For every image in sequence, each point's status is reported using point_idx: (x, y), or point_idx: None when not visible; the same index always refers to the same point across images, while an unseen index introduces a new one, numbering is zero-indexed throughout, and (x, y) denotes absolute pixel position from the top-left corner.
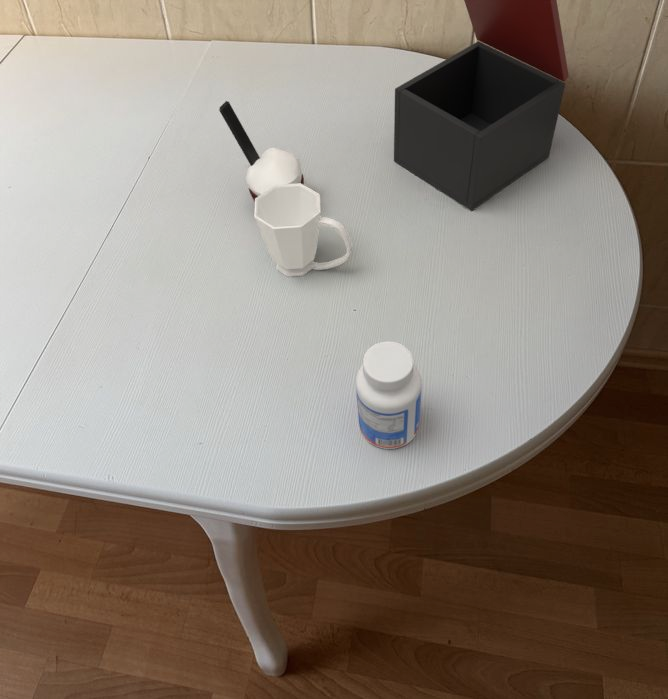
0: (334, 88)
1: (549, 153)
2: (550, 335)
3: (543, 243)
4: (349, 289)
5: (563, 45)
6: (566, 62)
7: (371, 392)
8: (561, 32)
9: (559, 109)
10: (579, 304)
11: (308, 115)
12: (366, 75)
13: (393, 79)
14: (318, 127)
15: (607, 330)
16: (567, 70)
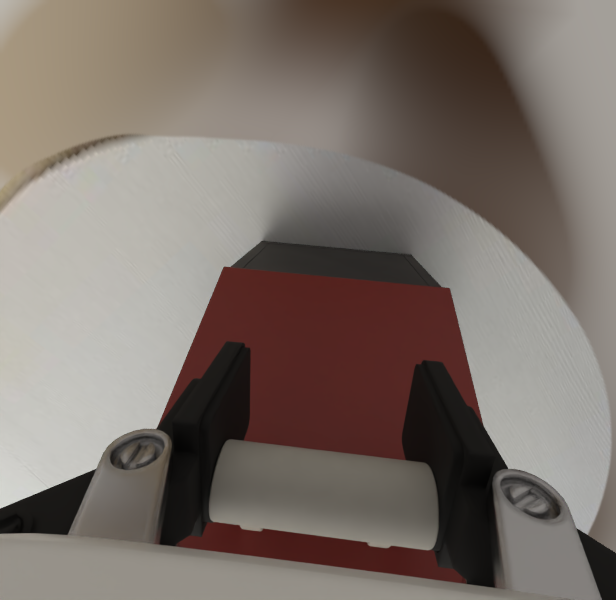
0: (83, 312)
1: (412, 256)
2: (546, 477)
3: (484, 388)
4: None
5: (468, 368)
6: (457, 320)
7: None
8: (478, 408)
9: (430, 275)
10: (557, 435)
11: (113, 373)
12: (84, 260)
13: (118, 242)
14: (141, 383)
15: (596, 446)
16: (453, 304)
